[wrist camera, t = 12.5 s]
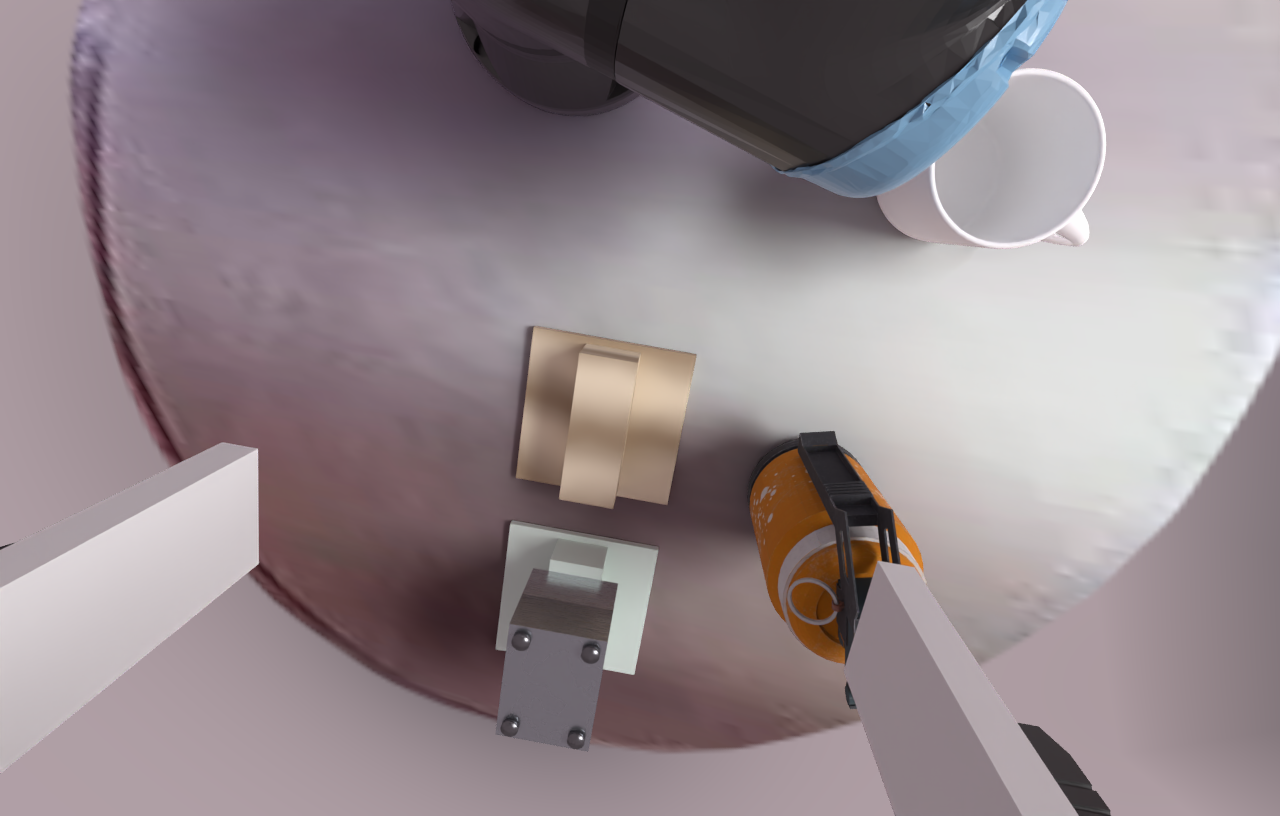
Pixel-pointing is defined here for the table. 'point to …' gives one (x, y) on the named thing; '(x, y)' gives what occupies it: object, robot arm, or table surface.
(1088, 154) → the mug
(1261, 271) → the table surface
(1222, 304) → the table surface
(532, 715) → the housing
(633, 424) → the stand
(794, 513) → the canister
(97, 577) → the robot arm
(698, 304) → the table surface
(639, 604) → the stand
